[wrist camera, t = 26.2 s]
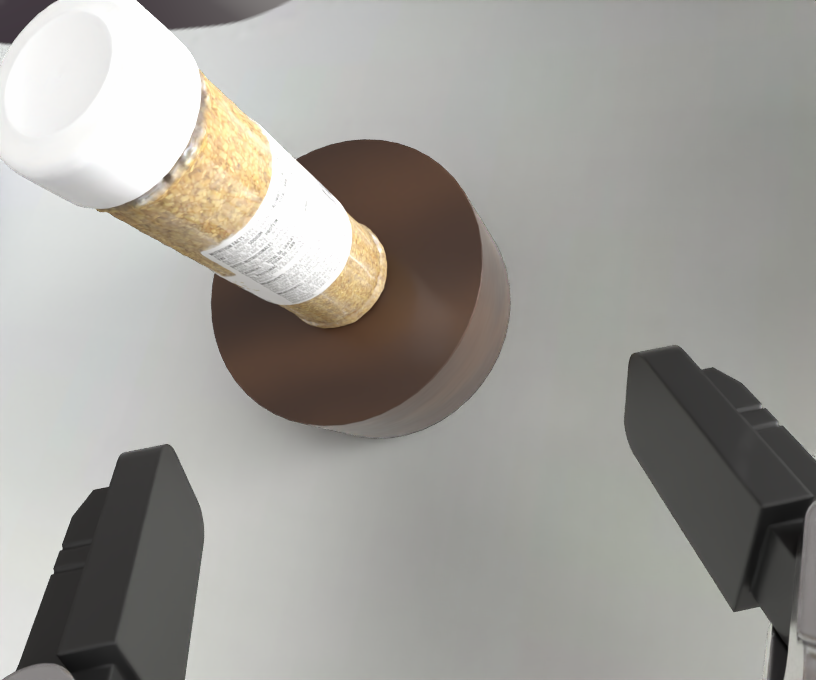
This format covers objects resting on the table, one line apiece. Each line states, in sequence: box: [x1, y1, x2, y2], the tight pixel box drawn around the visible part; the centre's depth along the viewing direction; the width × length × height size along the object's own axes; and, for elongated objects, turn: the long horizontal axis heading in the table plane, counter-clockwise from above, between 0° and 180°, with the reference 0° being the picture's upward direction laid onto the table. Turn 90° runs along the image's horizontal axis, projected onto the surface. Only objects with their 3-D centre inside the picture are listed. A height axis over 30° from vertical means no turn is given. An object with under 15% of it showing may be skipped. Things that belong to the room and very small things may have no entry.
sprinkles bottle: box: [0, 0, 387, 328], centre depth 20 cm, size 5×5×14 cm
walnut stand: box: [211, 139, 510, 438], centre depth 28 cm, size 12×12×5 cm
